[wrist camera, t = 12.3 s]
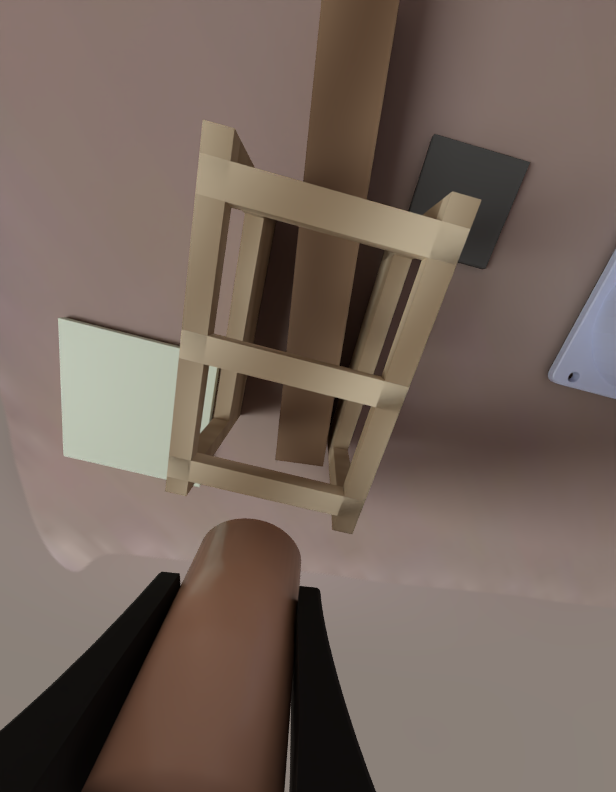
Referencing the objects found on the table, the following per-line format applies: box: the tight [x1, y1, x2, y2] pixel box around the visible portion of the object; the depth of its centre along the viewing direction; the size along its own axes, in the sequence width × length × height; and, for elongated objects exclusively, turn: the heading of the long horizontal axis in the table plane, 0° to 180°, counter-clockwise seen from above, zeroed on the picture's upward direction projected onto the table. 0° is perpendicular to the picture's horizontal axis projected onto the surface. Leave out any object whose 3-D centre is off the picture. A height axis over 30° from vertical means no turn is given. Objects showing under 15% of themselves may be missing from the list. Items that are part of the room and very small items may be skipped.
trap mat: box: [408, 134, 530, 269], centre depth 12 cm, size 4×4×1 cm
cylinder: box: [81, 518, 301, 792], centre depth 9 cm, size 4×4×6 cm
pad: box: [58, 317, 219, 487], centre depth 16 cm, size 8×8×1 cm
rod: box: [275, 0, 400, 466], centre depth 13 cm, size 2×18×2 cm, turn 173°
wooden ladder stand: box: [165, 120, 481, 534], centre depth 11 cm, size 6×10×7 cm, turn 166°
